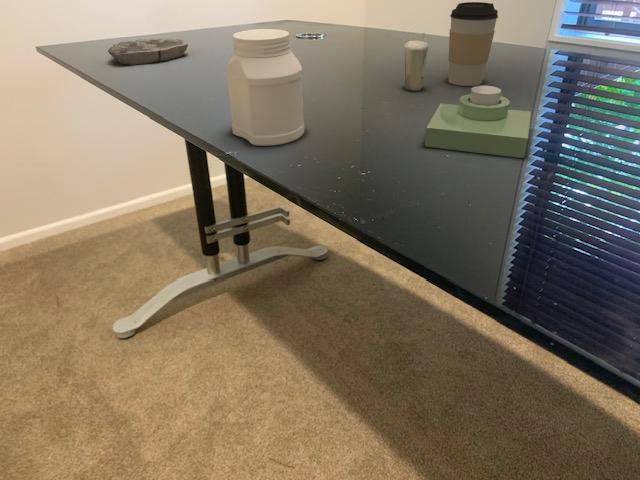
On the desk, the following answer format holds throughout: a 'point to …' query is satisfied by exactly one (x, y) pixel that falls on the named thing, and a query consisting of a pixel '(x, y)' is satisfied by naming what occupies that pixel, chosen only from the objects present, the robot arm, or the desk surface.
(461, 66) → the coffee cup
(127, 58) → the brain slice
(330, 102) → the desk surface
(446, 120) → the panel
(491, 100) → the flush button
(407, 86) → the milkshake
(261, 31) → the jar
